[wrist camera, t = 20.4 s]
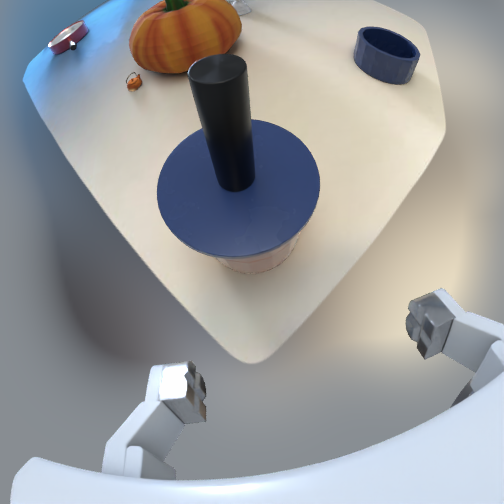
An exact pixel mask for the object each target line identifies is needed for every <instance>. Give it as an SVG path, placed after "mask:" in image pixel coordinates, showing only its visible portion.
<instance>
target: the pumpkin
mask: <svg viewBox="0 0 504 504" xmlns="http://www.w3.org/2000/svg"><path fill="white" fill-rule="evenodd" d="M241 28H242V24H241V21H240V18H239V15H238V13H237V11H236V9H235V8H234V7H233V6H232V5H231V4H230V3H228V2H227V1H225V0H163V1H161V2H159V3H157V4H156V5H154V6H153V7H151V8H150V9H149V10H147V11H146V12H144V13H143V14H142V15H141V16H140V17H139V18H138V20H137V21H136V23H135V24H134V26H133V29H132V32H131V36H130V39H129V47H130V51H131V53H132V56H133V58H134V60H135V61H136V62H137V64H138V65H139V66H141V67H142V68H144V69H147V70H150V71H155V72H160V73H181V72H185V71H188V70H189V68H190V67H191V66H192V65H193V64H194V63H195V62H197V61H198V60H200V59H202V58H205V57H208V56H211V55H217V54H225V53H226V52H227V51H228V50H229V49H230V48H231V46H232V45H233V44H234V42H235V41H236V40H237V39H238V37H239V35H240V33H241Z"/></svg>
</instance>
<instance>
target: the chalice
mask: <svg viewBox="0 0 504 504" xmlns="http://www.w3.org/2000/svg"><path fill="white" fill-rule="evenodd" d="M231 5H232V6H233V7H234V8H235V9H236V11H237V13H238V15H243V14H247V13H249V12H251V9H250V8H249V6H248V5H247V3H246V2H244V1H242V0H235V2H233V3H232V4H231Z"/></svg>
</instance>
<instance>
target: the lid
mask: <svg viewBox="0 0 504 504" xmlns="http://www.w3.org/2000/svg"><path fill="white" fill-rule="evenodd" d="M188 79H189V82H190V86H191V90H192V93H193V97H194V100H195V104H196V107H197V111H198V115H199V118H200V122H201V125H202V129H200V130H198V131H196V132H194V133H193V134H191V135H190V136H188V137H187V138H186V139H184V140H183V141H182V142H181V143H180V144H179V145H178V146H177V147H176V148H175V149H174V150H173V151H172V153H171V154H170V155H169V157H168V158H167V160H166V161H165V163H164V165H163V167H162V170H161V172H160V176H159V179H158V185H157V201H158V207H159V210H160V213H161V216H162V218H163V220H164V221H165V223H166V225H167V226H168V228H169V229H170V230H171V232H172V233H173V234H174V235H175V236H176V237H177V238H178V239H179V240H180V241H181V242H183V243H184V244H185V245H187V246H188V247H190V248H192V249H194V250H196V251H197V252H200V253H202V254H205V255H208V256H212V257H217V258H224V259H245V258H251V257H256V256H260V255H263V254H266V253H269V252H271V251H273V250H275V249H278V248H280V247H281V246H283V245H284V244H286V243H288V242H289V241H290V240H292V239H293V238H294V237H295V236H296V235H298V233H299V232H300V231H301V230H302V229H303V228H304V227H305V226H306V224H307V223H308V221H309V220H310V218H311V216H312V214H313V212H314V210H315V207H316V204H317V201H318V197H319V191H320V177H319V171H318V167H317V165H316V162H315V160H314V158H313V156H312V154H311V152H310V151H309V150H308V148H307V147H306V146H305V144H304V143H303V142H302V141H301V140H300V139H298V138H297V137H296V136H295V135H293V134H292V133H291V132H289V131H287V130H286V129H284V128H282V127H279V126H277V125H275V124H272V123H269V122H265V121H260V120H253V119H251V111H250V99H249V86H248V74H247V64H246V62H245V61H244V60H243V59H242V58H241V57H239V56H236V55H231V54H217V55H211V56H208V57H205V58H202V59H200V60H198V61H197V62H195V63H194V64H193V65H192V66H191V67H190V68H189V70H188Z"/></svg>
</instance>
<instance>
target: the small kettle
mask: <svg viewBox="0 0 504 504" xmlns="http://www.w3.org/2000/svg"><path fill="white" fill-rule="evenodd" d="M133 73H135V72H133ZM133 73H131V74H133ZM131 74H130V75H131ZM135 74H136V73H135ZM130 75H129V76H130ZM129 76H128V78H129ZM128 78H127V79H128ZM126 83H127V80H126ZM141 83H142V80H141V79H140V74H138V76H137V77H136V78H133V79H131V80H130V81H129V82H128V84H127V88H128V91H135V90H137V89H138V87H139V86H140V85H141Z"/></svg>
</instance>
